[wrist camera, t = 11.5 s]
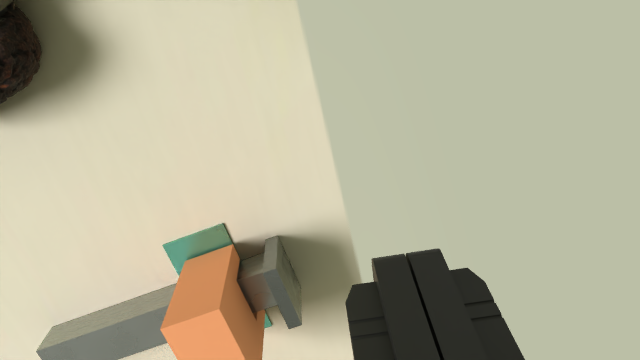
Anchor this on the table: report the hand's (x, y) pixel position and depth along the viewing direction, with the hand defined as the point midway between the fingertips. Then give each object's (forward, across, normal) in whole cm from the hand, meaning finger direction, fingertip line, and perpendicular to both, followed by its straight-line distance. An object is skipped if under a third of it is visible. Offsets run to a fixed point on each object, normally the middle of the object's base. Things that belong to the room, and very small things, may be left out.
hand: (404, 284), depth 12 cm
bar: (+25, +15, +20) cm, 35 cm away
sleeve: (+25, +10, +19) cm, 33 cm away
